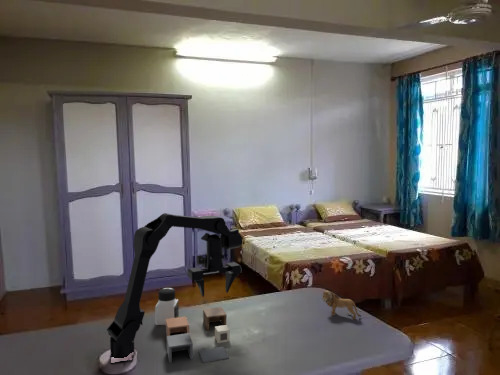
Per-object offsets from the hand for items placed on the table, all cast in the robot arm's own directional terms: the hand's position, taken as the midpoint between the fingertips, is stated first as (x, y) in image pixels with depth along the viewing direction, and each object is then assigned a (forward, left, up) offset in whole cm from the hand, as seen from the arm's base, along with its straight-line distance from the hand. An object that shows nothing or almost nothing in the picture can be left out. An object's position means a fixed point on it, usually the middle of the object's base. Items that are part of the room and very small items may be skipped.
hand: (214, 294), depth 141 cm
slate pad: (-5, -19, -12) cm, 23 cm away
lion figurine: (+48, -5, -12) cm, 50 cm away
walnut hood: (0, +1, -12) cm, 12 cm away
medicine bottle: (-16, +10, -12) cm, 22 cm away
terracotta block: (-14, -3, -12) cm, 19 cm away
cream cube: (0, -10, -12) cm, 16 cm away
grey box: (-15, -16, -12) cm, 25 cm away
